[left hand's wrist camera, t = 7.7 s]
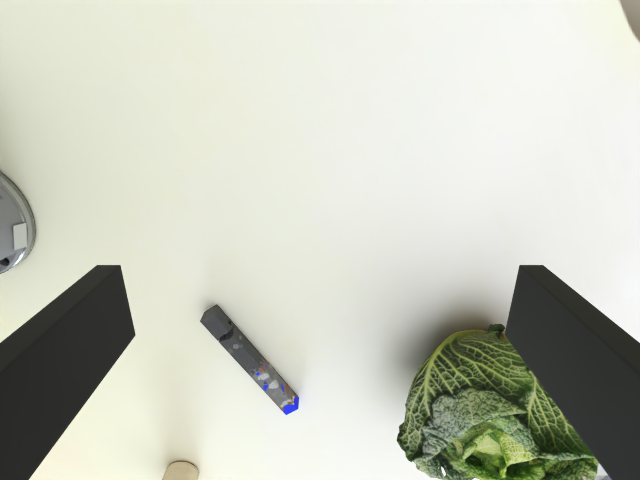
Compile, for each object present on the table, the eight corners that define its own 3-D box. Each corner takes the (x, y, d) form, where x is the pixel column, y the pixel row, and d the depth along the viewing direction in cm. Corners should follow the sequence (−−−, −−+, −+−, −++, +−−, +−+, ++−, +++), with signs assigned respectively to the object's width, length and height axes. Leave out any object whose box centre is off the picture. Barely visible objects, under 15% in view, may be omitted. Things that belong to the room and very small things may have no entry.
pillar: (212, 313, 50) (299, 410, 56) (216, 304, 52) (300, 399, 58) (200, 321, 51) (287, 416, 57) (204, 312, 53) (288, 405, 59)
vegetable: (406, 328, 62) (363, 446, 48) (492, 264, 48) (467, 401, 34) (508, 401, 61) (495, 542, 47) (623, 357, 48) (654, 535, 34)
